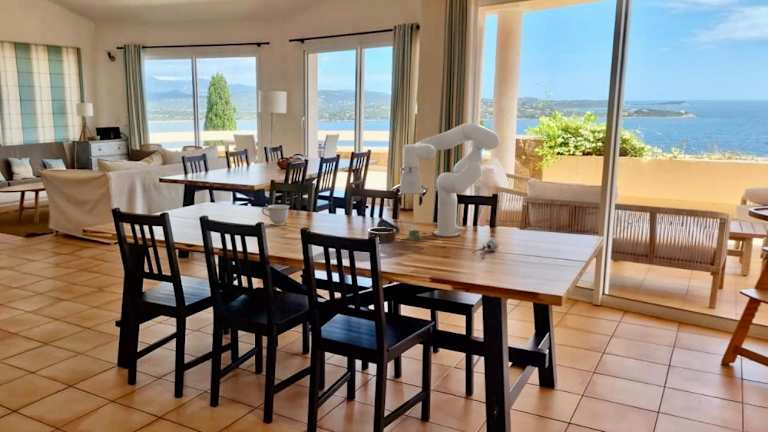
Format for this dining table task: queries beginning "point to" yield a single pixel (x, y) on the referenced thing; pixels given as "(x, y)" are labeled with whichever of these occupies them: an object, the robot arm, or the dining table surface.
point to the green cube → (413, 234)
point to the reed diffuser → (490, 246)
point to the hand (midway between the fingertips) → (410, 205)
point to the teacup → (277, 213)
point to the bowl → (383, 234)
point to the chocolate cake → (387, 225)
